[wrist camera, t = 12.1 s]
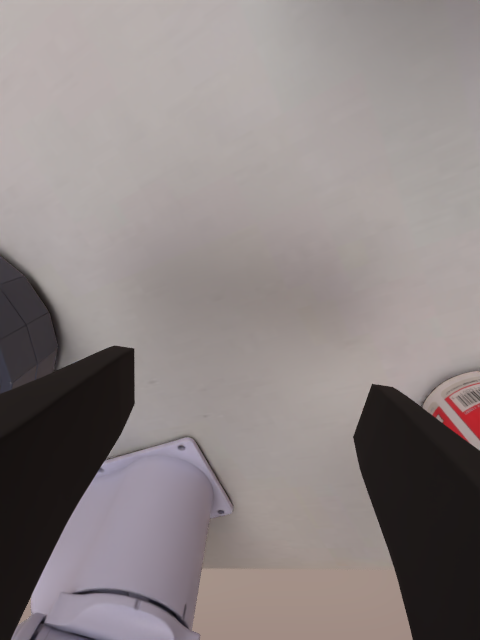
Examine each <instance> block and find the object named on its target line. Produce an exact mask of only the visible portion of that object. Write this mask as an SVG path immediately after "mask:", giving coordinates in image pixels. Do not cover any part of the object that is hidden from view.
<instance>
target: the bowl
mask: <svg viewBox="0 0 480 640" xmlns="http://www.w3.org/2000/svg"><path fill="white" fill-rule="evenodd" d="M57 351H58V344H57V340H56V336H55V332H54V328H53V324H52V320H51V316H50V313H49V311H48V309H47V308H46V306H45V305H44V303H43V302H42V300H41V299H40V298H39V296H38V295H37V293H36V292H35V290H34V289H33V287H32V286H31V284H30V283H29V281H28V280H27V278H26V277H25V276H24V275H23V274H22V273H21V272H20V271H18V270H17V269H16V268H15V267H13V266H12V265H11V264H10V263H9V262H7V261H6V260H5V259H4V258H2V257H1V256H0V394H1V393H4V392H6V391H9V390H12V389H14V388H16V387H19V386H21V385H24V384H26V383H29V382H31V381H34V380H36V379H38V378H41V377H43V376H46V375H48V374H51V373H53V372H54V366H55V361H56V356H57Z"/></svg>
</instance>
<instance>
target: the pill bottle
mask: <svg viewBox="0 0 480 640" xmlns="http://www.w3.org/2000/svg"><path fill="white" fill-rule="evenodd" d="M422 408H423V409H425V410H426V411H427V412H429V413H430V414H431V415H433V416H434V417H435V418H436V419H438V420H439V421H440V422H442V423H443V424H444V425H446V426H447V427H448V428H450V429H451V430H452V431H454V432H455V433H456V434H458V435H459V436H461V437H462V438H463V439H465V440H466V441H467V442H469V443H470V444H472V445H473V446H474V447H476V448H477V449H478V450H480V371H474V372H468V373H464V374H461V375H458V376H455V377H453V378H451V379H449V380H447V381H445V382H443V383H442V384H440V385H439V386H438V387H437V388H436V389H435V390H433V391H432V393H431V394H430V395H429V396H428V397H427V399H426V401H425V402H424V404H423V407H422Z"/></svg>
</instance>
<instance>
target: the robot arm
mask: <svg viewBox="0 0 480 640" xmlns="http://www.w3.org/2000/svg"><path fill="white" fill-rule="evenodd" d="M134 404H135V400H134V348H127V347H120V346H112V347H109V348H107V349H104V350H102V351H99V352H97V353H95V354H93V355H90V356H88V357H86V358H84V359H82V360H79V361H77V362H75V363H73V364H71V365H68V366H66V367H64V368H62V369H59V370H57V371H55V372H53V373H51V374H48V375H46V376H43V377H41V378H38V379H36V380H34V381H31V382H29V383H26V384H24V385H21V386H19V387H16V388H14V389H12V390H9V391H6V392H4V393H1V394H0V640H200V634H199V633H196V632H194V631H192V625H193V619H194V613H195V606H196V601H197V594H198V588H199V582H200V576H201V570H202V564H203V558H204V551H205V545H206V539H207V533H208V527H209V520H210V519H211V518H215V517H220V516H225V515H229V514H231V513H232V512H233V505H232V503H231V502H230V500H229V498H228V497H227V495H226V493H225V491H224V490H223V488H222V486H221V485H220V483H219V481H218V479H217V478H216V476H215V474H214V473H213V471H212V469H211V468H210V466H209V464H208V462H207V461H206V459H205V457H204V456H203V454H202V452H201V451H200V449H199V447H198V445H197V444H196V442H195V441H194V439H192V438H189V437H186V438H182V439H179V440H175V441H172V442H168V443H165V444H161V445H158V446H154V447H151V448H147V449H144V450H140V451H137V452H133V453H130V454H126V455H123V456H119V457H116V458H112V459H108V460H105V459H106V458H107V456H108V454H109V453H110V451H111V449H112V448H113V446H114V445H115V443H116V441H117V440H118V438H119V436H120V435H121V433H122V431H123V428H124V426H125V424H126V422H127V420H128V418H129V415H130V413H131V411H132V408H133V406H134ZM353 438H354V443H355V448H356V453H357V458H358V462H359V466H360V470H361V473H362V476H363V479H364V482H365V485H366V488H367V491H368V494H369V497H370V499H371V502H372V505H373V508H374V511H375V513H376V516H377V519H378V522H379V525H380V527H381V530H382V533H383V536H384V539H385V541H386V544H387V547H388V550H389V553H390V556H391V559H392V562H393V565H394V568H395V572H396V575H397V579H398V582H399V586H400V590H401V594H402V598H403V602H404V605H405V609H406V613H407V617H408V621H409V625H410V629H411V633H412V637H413V640H480V450H478V449H477V448H476V447H474V446H473V445H472V444H470V443H469V442H467V441H466V440H465V439H463V438H462V437H461V436H459V435H458V434H456V433H455V432H454V431H452V430H451V429H450V428H448V427H447V426H446V425H444V424H443V423H442V422H440V421H439V420H438V419H436V418H435V417H434V416H433V415H431V414H430V413H429V412H427V411H426V410H425V409H423V408H422V407H421V406H419V405H418V404H417V403H415V402H414V401H413V400H411V399H410V398H408V397H407V396H406V395H404V394H403V393H401V392H400V391H398V390H397V389H395V388H393V387H388V386H382V385H375V384H372V386H371V389H370V392H369V394H368V397H367V400H366V403H365V406H364V408H363V411H362V414H361V417H360V420H359V422H358V425H357V428H356V431H355V434H354V436H353ZM180 445H183V446H184V447H182V446H180ZM30 597H31V613H32V615H31V616H30V617H29V618H28V619H26V620H25V621H23V622H22V623H20V624H18V623H19V621H20V618H21V616H22V614H23V612H24V610H25V608H26V606H27V604H28V602H29V600H30Z"/></svg>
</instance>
